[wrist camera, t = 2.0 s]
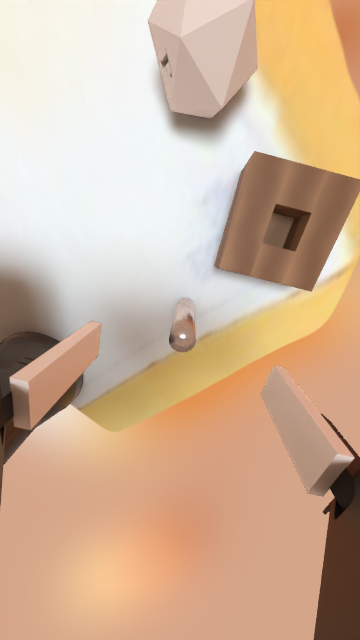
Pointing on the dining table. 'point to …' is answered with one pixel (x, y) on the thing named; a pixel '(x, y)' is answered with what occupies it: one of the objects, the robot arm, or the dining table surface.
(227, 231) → the socket block
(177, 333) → the pin
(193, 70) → the die
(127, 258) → the dining table surface
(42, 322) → the dining table surface
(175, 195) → the dining table surface
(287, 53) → the dining table surface
